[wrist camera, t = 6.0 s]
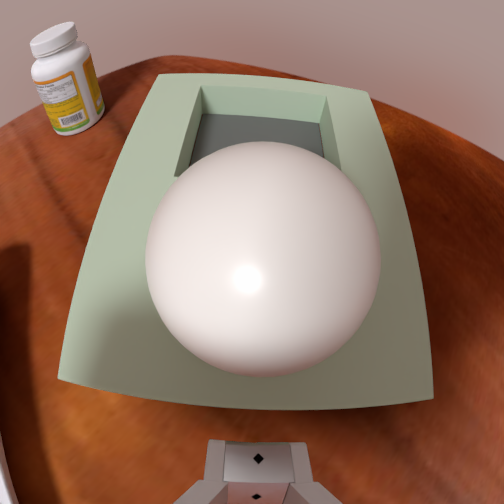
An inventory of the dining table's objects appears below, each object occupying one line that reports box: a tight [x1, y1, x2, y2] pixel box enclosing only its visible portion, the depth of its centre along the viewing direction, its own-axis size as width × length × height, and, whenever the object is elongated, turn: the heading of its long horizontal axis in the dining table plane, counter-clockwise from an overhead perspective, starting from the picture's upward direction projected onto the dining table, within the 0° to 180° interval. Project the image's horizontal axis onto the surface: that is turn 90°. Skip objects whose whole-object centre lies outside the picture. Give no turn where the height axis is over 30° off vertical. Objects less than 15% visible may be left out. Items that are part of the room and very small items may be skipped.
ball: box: [145, 141, 381, 377], centre depth 11 cm, size 8×8×8 cm
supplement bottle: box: [30, 22, 105, 135], centre depth 21 cm, size 5×5×10 cm
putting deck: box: [58, 74, 434, 410], centre depth 19 cm, size 18×24×3 cm
